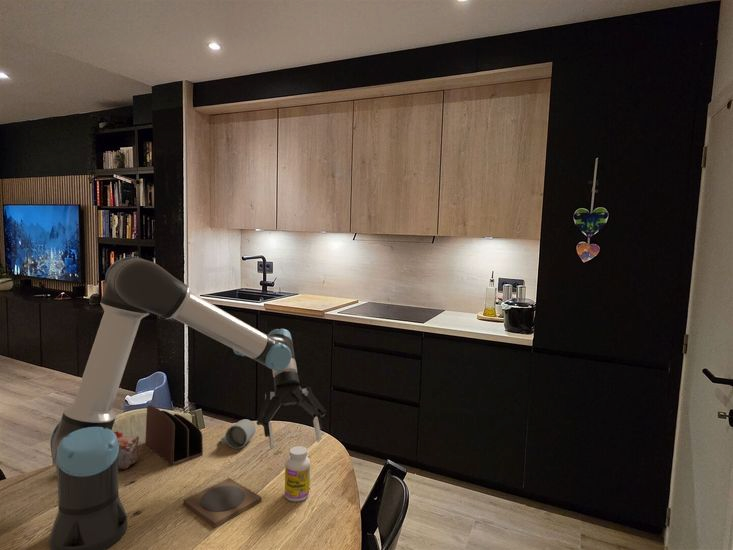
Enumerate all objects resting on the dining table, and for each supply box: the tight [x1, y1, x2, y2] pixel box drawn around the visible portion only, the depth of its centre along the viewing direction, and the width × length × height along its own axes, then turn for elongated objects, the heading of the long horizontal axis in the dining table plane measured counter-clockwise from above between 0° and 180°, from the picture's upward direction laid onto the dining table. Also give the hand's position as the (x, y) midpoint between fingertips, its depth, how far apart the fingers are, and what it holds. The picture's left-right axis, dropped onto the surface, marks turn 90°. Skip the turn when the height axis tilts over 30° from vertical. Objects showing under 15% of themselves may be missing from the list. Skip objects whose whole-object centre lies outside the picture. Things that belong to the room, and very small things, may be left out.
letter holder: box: [145, 405, 204, 467], centre depth 143 cm, size 10×20×14 cm, turn 47°
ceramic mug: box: [220, 418, 256, 450], centre depth 149 cm, size 11×8×8 cm
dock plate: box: [182, 477, 263, 529], centre depth 116 cm, size 14×14×1 cm
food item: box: [113, 430, 140, 470], centre depth 132 cm, size 14×8×10 cm, turn 91°
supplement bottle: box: [284, 445, 311, 502], centre depth 120 cm, size 7×7×13 cm
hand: (296, 443), depth 126 cm, fingers open, 13 cm apart
